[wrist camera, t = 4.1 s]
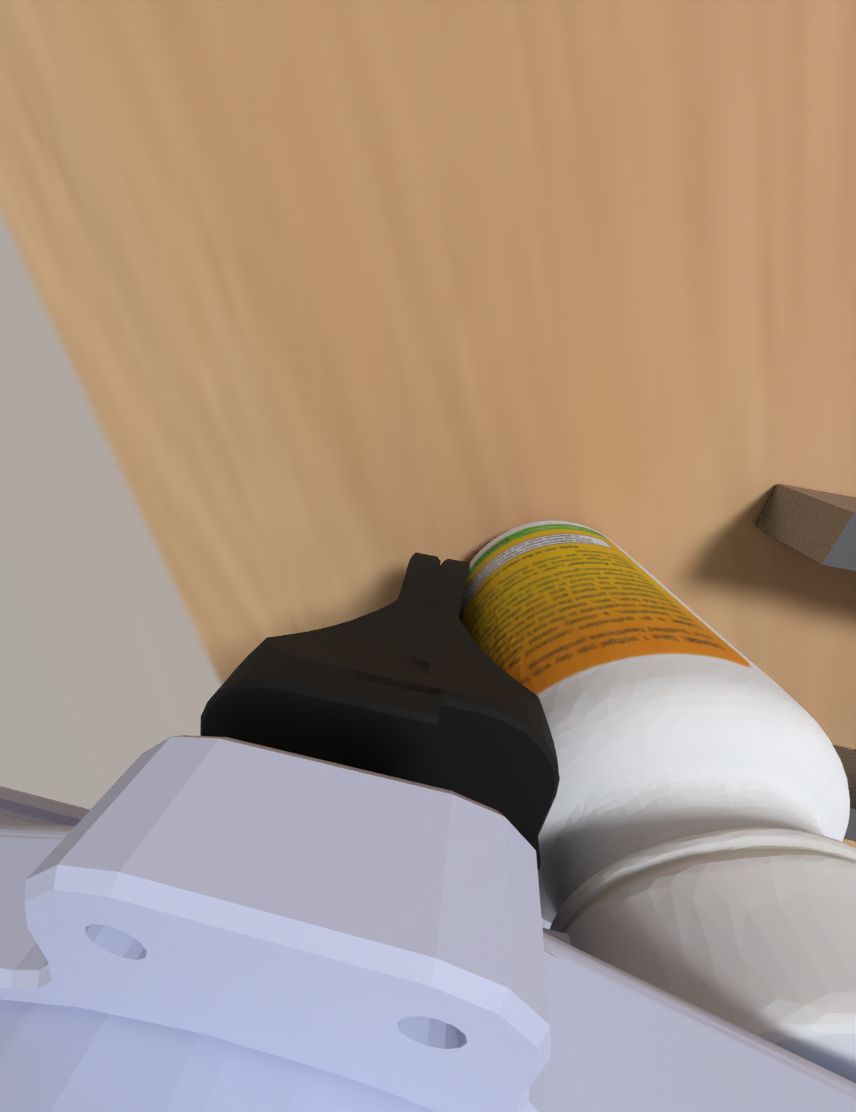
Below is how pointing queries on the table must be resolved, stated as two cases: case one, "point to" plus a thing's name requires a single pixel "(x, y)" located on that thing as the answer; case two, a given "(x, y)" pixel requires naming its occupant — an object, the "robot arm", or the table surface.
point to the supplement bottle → (677, 793)
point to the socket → (818, 559)
